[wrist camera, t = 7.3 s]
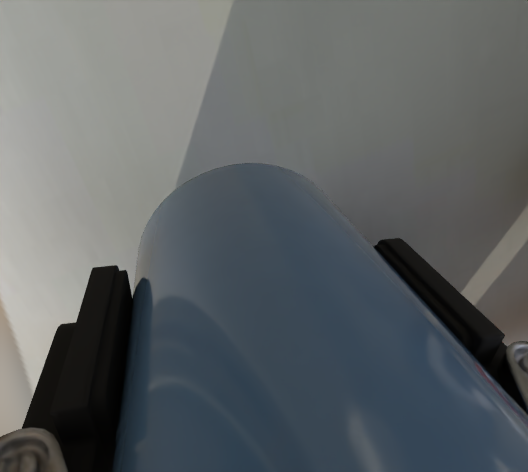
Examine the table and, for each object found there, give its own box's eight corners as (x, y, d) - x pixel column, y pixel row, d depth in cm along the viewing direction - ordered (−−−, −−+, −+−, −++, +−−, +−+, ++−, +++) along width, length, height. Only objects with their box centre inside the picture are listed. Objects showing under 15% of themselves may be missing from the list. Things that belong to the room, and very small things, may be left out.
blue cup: (120, 168, 9) (-65, 775, 2) (356, 157, 11) (801, 480, 3) (151, 349, 13) (130, 834, 5) (328, 323, 14) (518, 676, 7)
